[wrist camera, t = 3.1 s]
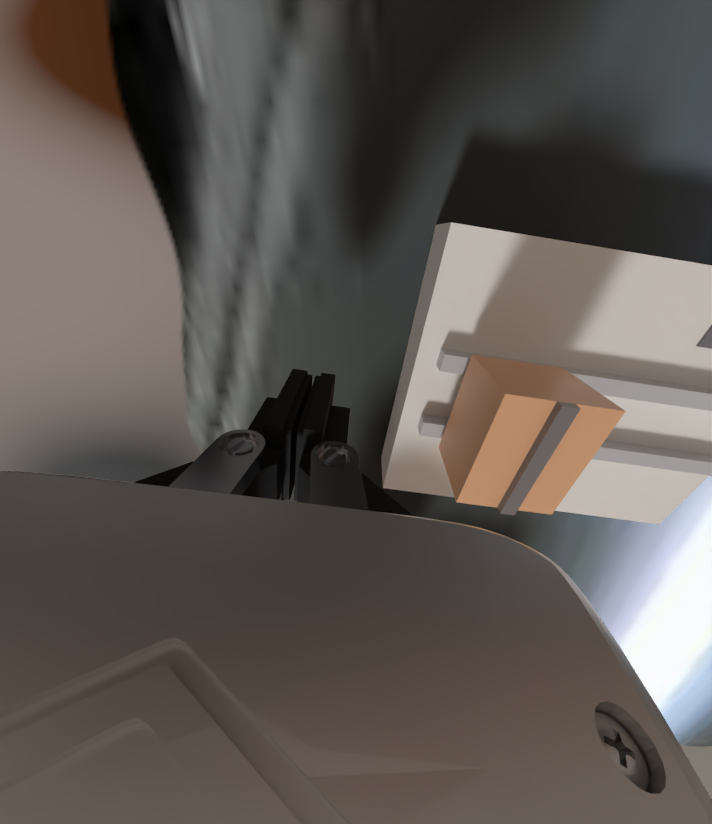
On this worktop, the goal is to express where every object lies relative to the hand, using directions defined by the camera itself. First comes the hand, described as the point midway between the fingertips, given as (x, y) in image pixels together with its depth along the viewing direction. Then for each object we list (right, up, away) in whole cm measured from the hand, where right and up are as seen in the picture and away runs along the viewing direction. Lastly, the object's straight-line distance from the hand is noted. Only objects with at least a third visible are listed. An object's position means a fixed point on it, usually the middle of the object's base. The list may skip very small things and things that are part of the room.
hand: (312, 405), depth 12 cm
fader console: (+13, +1, +6) cm, 15 cm away
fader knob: (+8, 0, +3) cm, 9 cm away
